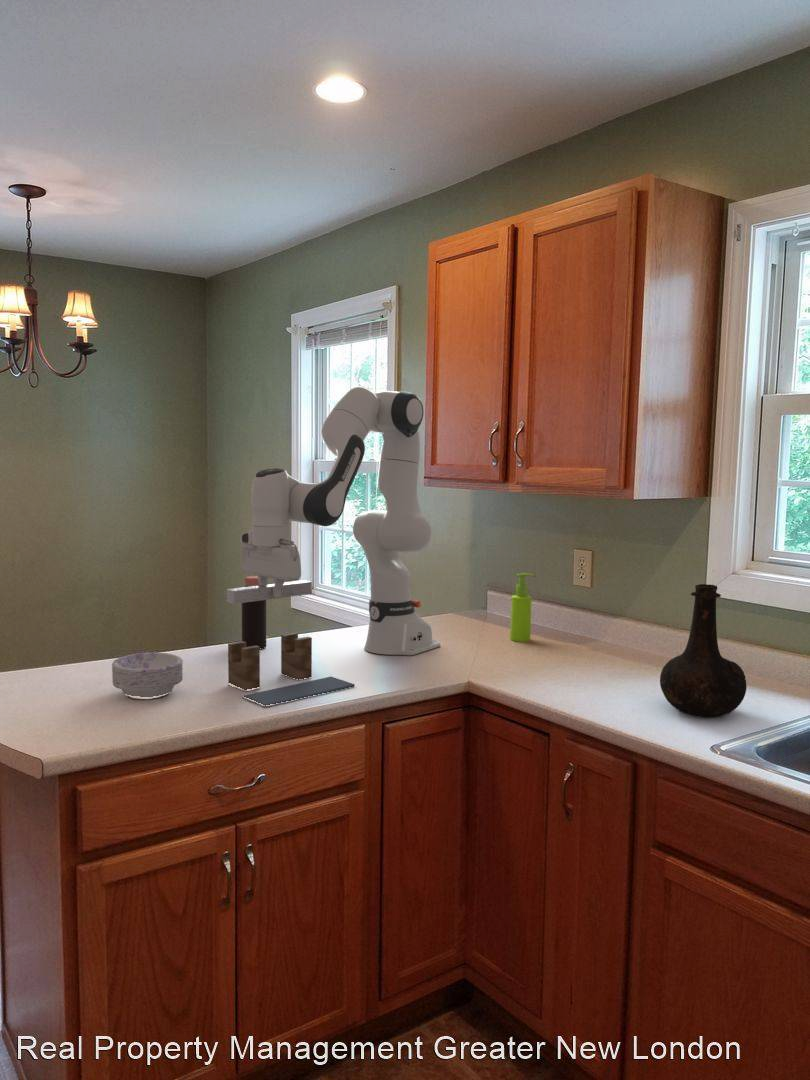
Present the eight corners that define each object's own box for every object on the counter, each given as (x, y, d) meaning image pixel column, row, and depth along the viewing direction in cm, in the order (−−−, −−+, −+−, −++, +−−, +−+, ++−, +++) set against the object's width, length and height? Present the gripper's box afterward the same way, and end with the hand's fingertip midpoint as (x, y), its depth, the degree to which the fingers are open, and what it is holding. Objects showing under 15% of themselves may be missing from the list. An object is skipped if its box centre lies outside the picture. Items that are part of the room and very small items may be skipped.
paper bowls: (155, 707, 179) (155, 671, 178) (97, 699, 184) (97, 664, 183) (196, 689, 193) (196, 655, 192) (141, 682, 198) (141, 649, 197)
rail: (304, 592, 207) (304, 580, 206) (311, 593, 205) (311, 581, 204) (226, 602, 192) (226, 589, 192) (233, 604, 190) (233, 591, 189)
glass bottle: (727, 731, 169) (735, 595, 166) (644, 712, 181) (650, 585, 178) (756, 711, 183) (764, 585, 180) (677, 695, 194) (683, 576, 191)
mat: (331, 678, 203) (331, 676, 203) (354, 686, 197) (354, 684, 197) (242, 698, 186) (242, 695, 186) (265, 707, 180) (265, 704, 180)
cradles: (294, 671, 209) (294, 632, 208) (311, 677, 204) (311, 637, 203) (228, 685, 197) (228, 643, 195) (245, 691, 191) (244, 649, 190)
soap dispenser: (534, 642, 247) (537, 575, 245) (511, 641, 247) (513, 574, 245) (532, 637, 253) (534, 572, 250) (509, 637, 253) (511, 572, 251)
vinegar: (261, 651, 230) (260, 579, 228) (238, 649, 232) (237, 578, 230) (269, 645, 237) (269, 576, 235) (247, 644, 238) (247, 574, 236)
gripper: (307, 540, 191) (307, 600, 193) (258, 533, 206) (258, 588, 208) (285, 542, 187) (285, 603, 189) (236, 534, 202) (236, 591, 203)
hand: (270, 595), depth 198 cm, fingers closed on rail, 3 cm apart
